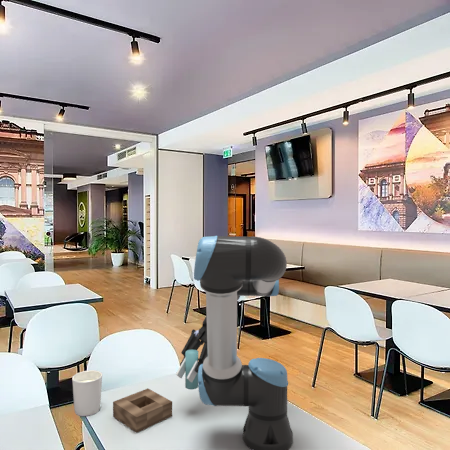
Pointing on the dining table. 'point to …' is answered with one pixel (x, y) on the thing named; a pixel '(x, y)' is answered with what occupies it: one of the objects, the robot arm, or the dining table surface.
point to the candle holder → (87, 392)
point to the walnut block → (142, 409)
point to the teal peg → (189, 362)
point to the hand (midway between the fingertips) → (183, 378)
